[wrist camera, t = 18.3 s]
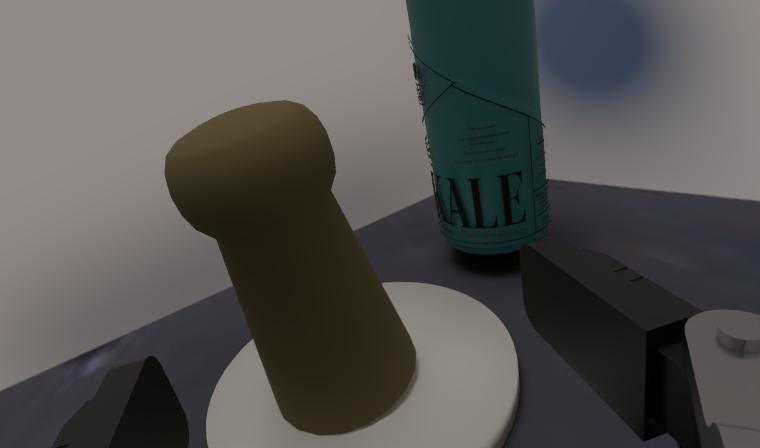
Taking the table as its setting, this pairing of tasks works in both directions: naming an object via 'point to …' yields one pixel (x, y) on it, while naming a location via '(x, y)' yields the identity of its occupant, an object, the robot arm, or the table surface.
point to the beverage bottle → (482, 120)
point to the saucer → (419, 401)
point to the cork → (294, 264)
